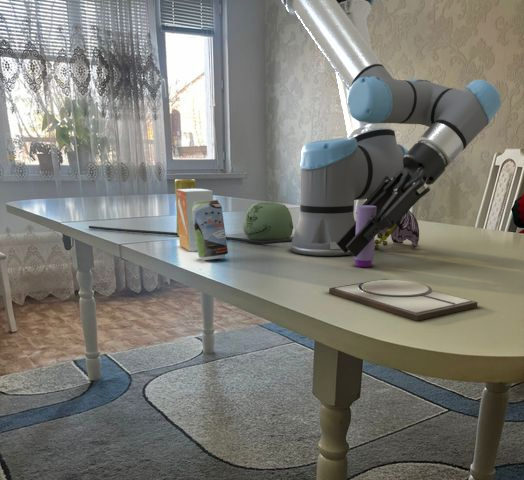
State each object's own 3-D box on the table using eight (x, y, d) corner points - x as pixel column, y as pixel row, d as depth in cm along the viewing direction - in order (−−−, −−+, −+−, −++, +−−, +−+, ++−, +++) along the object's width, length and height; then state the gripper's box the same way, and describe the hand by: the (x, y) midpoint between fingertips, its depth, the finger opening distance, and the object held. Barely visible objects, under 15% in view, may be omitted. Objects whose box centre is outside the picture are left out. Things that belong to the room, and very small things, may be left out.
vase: (180, 233, 148) (176, 179, 144) (201, 234, 148) (199, 179, 143) (173, 237, 143) (170, 180, 138) (196, 237, 142) (193, 180, 137)
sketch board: (328, 293, 84) (329, 286, 84) (391, 282, 91) (392, 275, 90) (417, 321, 70) (417, 312, 69) (484, 305, 77) (485, 298, 76)
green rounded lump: (303, 239, 137) (304, 203, 135) (260, 243, 131) (259, 206, 128) (269, 232, 150) (269, 199, 147) (228, 235, 144) (227, 202, 141)
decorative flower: (443, 205, 116) (377, 184, 114) (427, 258, 116) (361, 238, 115) (418, 217, 130) (360, 199, 129) (404, 264, 131) (346, 246, 129)
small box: (179, 246, 128) (175, 189, 124) (205, 244, 130) (202, 188, 126) (188, 251, 121) (185, 191, 117) (215, 249, 123) (213, 190, 119)
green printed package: (216, 263, 107) (214, 201, 103) (187, 260, 111) (184, 199, 107) (234, 258, 112) (233, 198, 108) (206, 255, 116) (203, 197, 112)
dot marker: (349, 264, 105) (352, 206, 101) (363, 262, 106) (367, 204, 103) (362, 267, 102) (366, 207, 98) (376, 265, 104) (380, 206, 100)
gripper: (470, 172, 95) (378, 271, 96) (417, 169, 110) (339, 255, 111) (447, 139, 92) (353, 243, 93) (396, 141, 107) (315, 230, 108)
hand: (345, 249), depth 102 cm, fingers closed on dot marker, 4 cm apart
